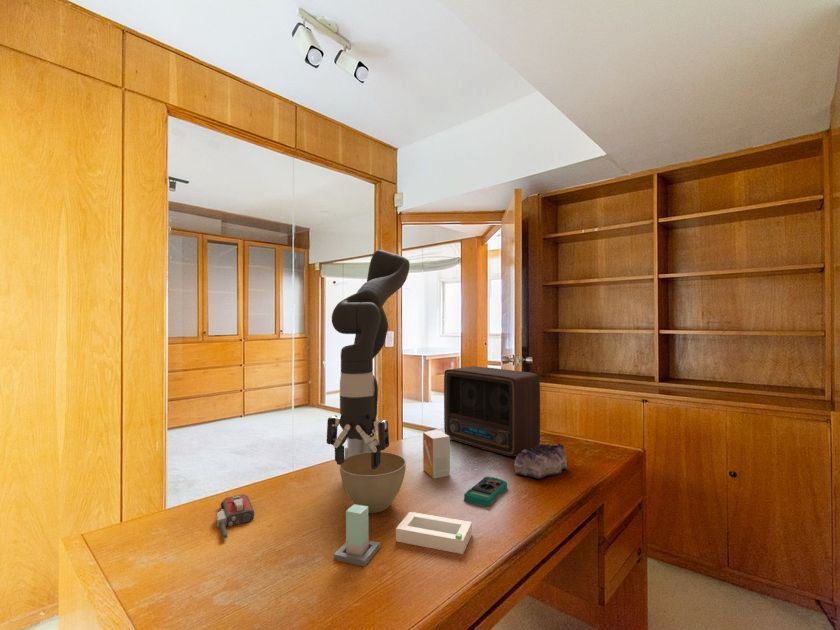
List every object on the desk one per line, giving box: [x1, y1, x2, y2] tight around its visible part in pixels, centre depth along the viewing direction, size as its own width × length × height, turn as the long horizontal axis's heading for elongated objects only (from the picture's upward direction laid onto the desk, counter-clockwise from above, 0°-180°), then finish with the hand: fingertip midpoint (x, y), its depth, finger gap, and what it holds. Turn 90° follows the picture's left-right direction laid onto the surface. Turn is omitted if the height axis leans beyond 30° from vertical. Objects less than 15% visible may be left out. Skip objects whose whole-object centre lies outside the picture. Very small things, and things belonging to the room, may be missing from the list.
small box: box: [422, 429, 451, 479], centre depth 140 cm, size 8×6×13 cm
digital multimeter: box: [463, 476, 508, 508], centre depth 123 cm, size 8×15×3 cm, turn 148°
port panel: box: [395, 511, 473, 555], centre depth 100 cm, size 16×9×4 cm, turn 70°
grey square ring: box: [333, 540, 381, 567], centre depth 93 cm, size 7×7×1 cm
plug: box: [345, 503, 370, 557], centre depth 93 cm, size 4×4×10 cm
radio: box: [443, 365, 541, 458], centre depth 169 cm, size 36×18×30 cm, turn 43°
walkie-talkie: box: [216, 493, 255, 539], centre depth 109 cm, size 9×4×20 cm
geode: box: [513, 443, 568, 479], centre depth 141 cm, size 20×12×10 cm, turn 124°
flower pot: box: [339, 451, 407, 514], centre depth 116 cm, size 18×18×12 cm
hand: (357, 465), depth 93 cm, fingers open, 8 cm apart
